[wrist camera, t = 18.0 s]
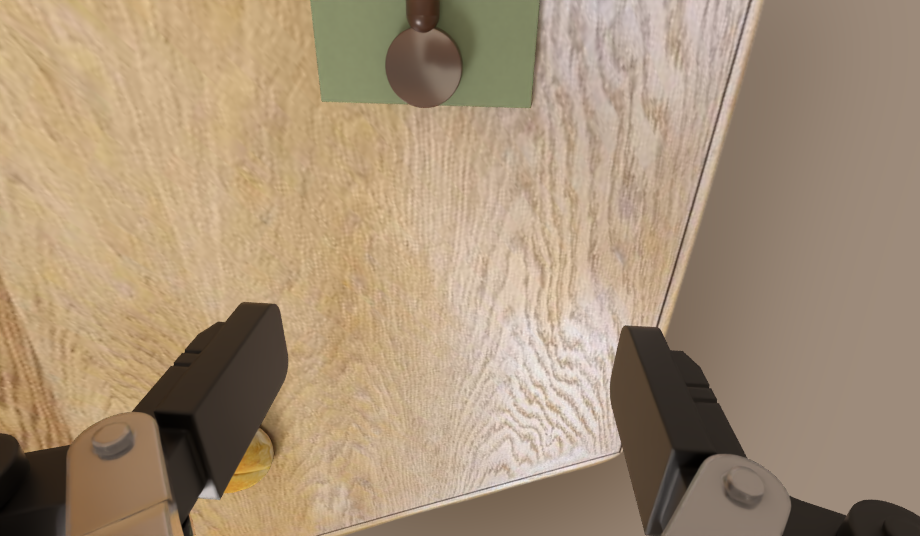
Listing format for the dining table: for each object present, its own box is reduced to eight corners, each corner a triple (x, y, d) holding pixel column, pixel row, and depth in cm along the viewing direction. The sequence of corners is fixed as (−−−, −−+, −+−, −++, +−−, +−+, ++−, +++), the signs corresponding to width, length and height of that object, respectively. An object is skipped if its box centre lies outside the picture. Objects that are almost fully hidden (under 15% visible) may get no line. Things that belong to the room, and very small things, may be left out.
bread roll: (187, 456, 54) (165, 489, 50) (205, 401, 50) (183, 433, 46) (262, 484, 55) (246, 518, 52) (286, 433, 51) (271, 466, 47)
